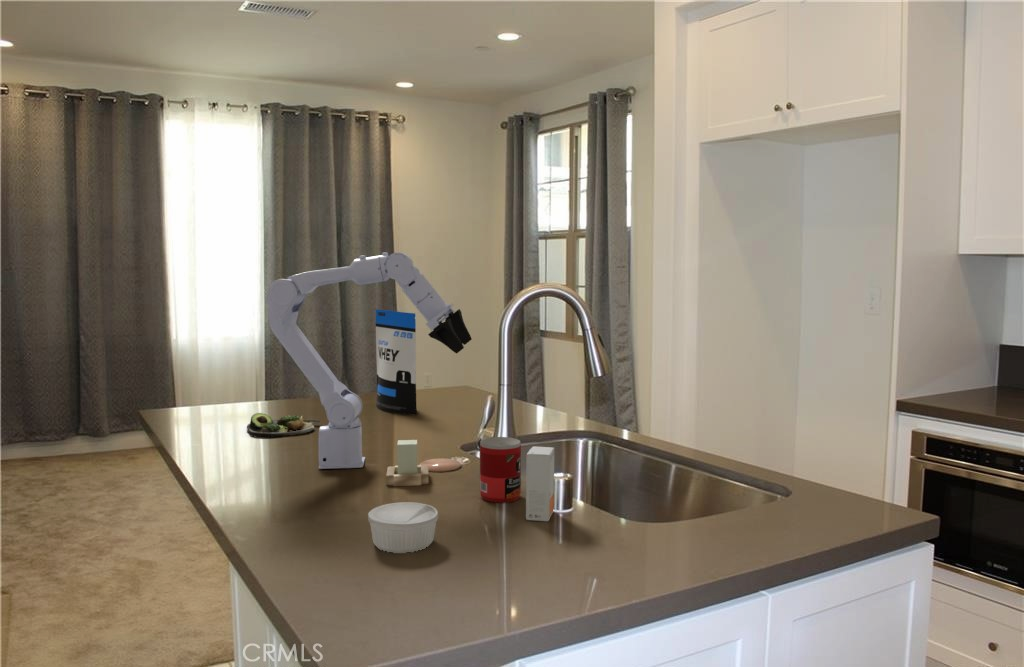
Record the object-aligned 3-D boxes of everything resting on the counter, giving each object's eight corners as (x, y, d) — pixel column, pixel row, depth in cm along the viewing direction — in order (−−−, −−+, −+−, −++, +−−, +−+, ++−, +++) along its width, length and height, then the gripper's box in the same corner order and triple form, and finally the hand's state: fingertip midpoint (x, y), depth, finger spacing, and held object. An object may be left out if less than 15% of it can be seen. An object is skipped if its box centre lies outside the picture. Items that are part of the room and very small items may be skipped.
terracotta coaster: (420, 472, 170) (419, 469, 170) (420, 461, 179) (420, 459, 179) (461, 471, 171) (461, 468, 171) (459, 460, 180) (459, 457, 180)
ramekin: (444, 552, 124) (444, 519, 124) (372, 560, 121) (372, 526, 121) (431, 529, 135) (431, 499, 134) (365, 535, 132) (364, 505, 131)
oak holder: (386, 486, 160) (386, 476, 160) (388, 474, 168) (387, 465, 168) (428, 484, 161) (428, 475, 161) (428, 473, 169) (428, 464, 169)
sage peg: (397, 482, 162) (397, 444, 162) (398, 477, 166) (397, 440, 166) (417, 482, 163) (416, 444, 162) (417, 477, 167) (417, 439, 166)
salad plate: (314, 421, 226) (313, 405, 225) (329, 433, 210) (328, 416, 209) (243, 427, 217) (242, 411, 217) (253, 441, 201) (252, 423, 201)
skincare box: (549, 522, 138) (549, 455, 137) (525, 520, 139) (525, 453, 138) (554, 511, 144) (554, 446, 143) (531, 509, 145) (531, 445, 144)
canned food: (512, 505, 148) (512, 447, 147) (473, 500, 151) (473, 443, 150) (526, 493, 155) (526, 438, 154) (488, 489, 158) (488, 435, 157)
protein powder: (390, 401, 255) (388, 308, 252) (430, 413, 236) (429, 312, 233) (363, 405, 249) (361, 309, 246) (402, 417, 230) (400, 314, 227)
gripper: (429, 293, 165) (470, 343, 166) (447, 281, 179) (484, 328, 180) (405, 313, 167) (445, 363, 168) (424, 300, 181) (461, 346, 182)
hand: (464, 346), depth 175 cm, fingers open, 7 cm apart
